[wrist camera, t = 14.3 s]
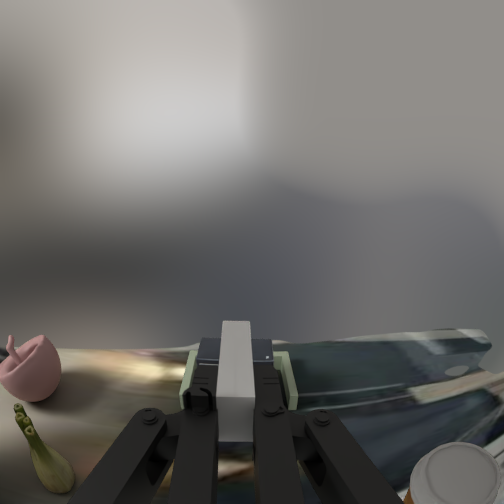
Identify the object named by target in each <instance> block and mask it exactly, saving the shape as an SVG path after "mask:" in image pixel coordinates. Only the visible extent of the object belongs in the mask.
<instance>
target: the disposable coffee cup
mask: <svg viewBox="0 0 504 504" xmlns="http://www.w3.org/2000/svg"><path fill="white" fill-rule="evenodd" d="M500 481H501V474H500V469H499V466H498V464H497V462H496V460H495V459H494V458H493V456H492V455H491V454H489V453H488V452H487V451H486V450H484V449H483V448H481V447H479V446H477V445H474V444H470V443H464V442H450V443H447V444H444V445H440V446H439V447H437V448H435V449H434V450H432V451H431V452H430V453H428V454H426V455H425V456H424V457H422V458H421V459H420V460H419V462H418V463H417V464H416V466H415V467H414V469H413V471H412V474H411V479H410V488H409V489H408V492H407V494H406V496H405V499H404V501H403V502H404V503H405V504H493V502H494V500H495V498H496V496H497V492H498V489H499V486H500Z"/></svg>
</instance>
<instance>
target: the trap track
mask: <svg viewBox="0 0 504 504" xmlns="http://www.w3.org/2000/svg"><path fill="white" fill-rule="evenodd" d="M197 352H198V351H192V350H190V353H189V357H188V361H187V365H186V369H185V373H184V377H183V381H182V385H181V389H180V393H179V396H180V403H181V409H184V406H183V398H182V394H183V392H184V391H185V390H186V389H187V388H189V387H191V386H192V381H193V376H194V371H195V369H196V368H197V363H196V356H197ZM273 355H274V368H275V369H276V370H281V373H282V379H283V384H284V389H285V394H286V400H287V405H288V410H296V408H297V401H298V392H297V388H296V384H295V380H294V376H293V371H292V367H291V363H290V359H289V355H288V352H273Z"/></svg>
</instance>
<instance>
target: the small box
mask: <svg viewBox="0 0 504 504" xmlns="http://www.w3.org/2000/svg"><path fill="white" fill-rule="evenodd" d="M251 346H252V360H253V365H273V366H274V355H273V346H272V340H271V339H251ZM220 347H221V338H202V339H201V342H200V345H199V349H198V352H197V356H196V363H197V367H198V366H199V365H219V358H220Z"/></svg>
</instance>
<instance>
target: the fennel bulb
mask: <svg viewBox="0 0 504 504" xmlns="http://www.w3.org/2000/svg"><path fill="white" fill-rule="evenodd" d="M14 411H15V413H16V417H15V418H16V419H15V420H16V422H17V424H18V425H19V427H20V429H21V430H22V432H23V433H24V435H25V437H26V438H27V440H28V443H29V447H30V453H31V457H32V461H33V464H34V467H35V470H36V473H37V475H38V477H39V479H40V480H41V482H42V483H43V484H44V486H45V488H46V489H47V490H49V491H50V492H53V493H66V492H68V491H70V490H71V488H72V486H73V484H74V481H75V474H74V471H73V468H72V467H71V465H70V464H69V463H68V462H67V461H66V460H65V459H64V458H63V457H62V456H61V455H60V454H59V453H57V452H56V451H55V450H53V449H52V448H51V447H49V446H48V445H47V444H46V443H44V442H43V441H42V440H41V439H40V437H39V435H38V434H37V432H36V430H35V429H34V426H33V424H32V421H31V419H30V418H29V417H28V416H27V415H26V413H25V410H24V408H23V406H22V405H21V404H19V403H17V404H15V405H14Z"/></svg>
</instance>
